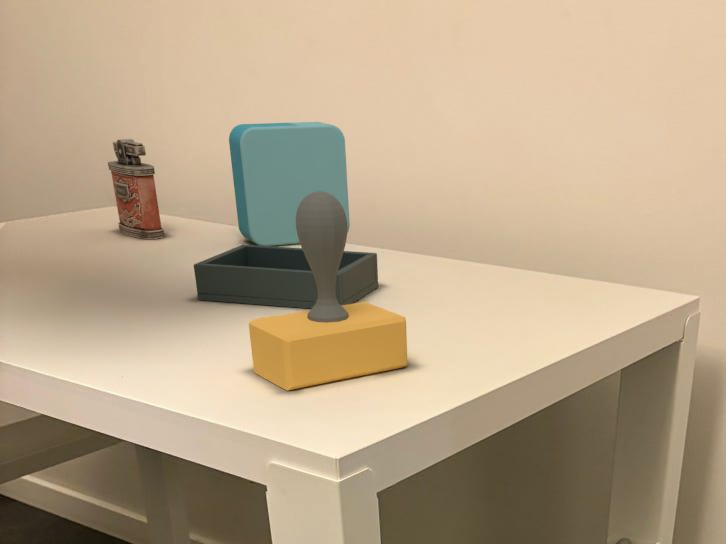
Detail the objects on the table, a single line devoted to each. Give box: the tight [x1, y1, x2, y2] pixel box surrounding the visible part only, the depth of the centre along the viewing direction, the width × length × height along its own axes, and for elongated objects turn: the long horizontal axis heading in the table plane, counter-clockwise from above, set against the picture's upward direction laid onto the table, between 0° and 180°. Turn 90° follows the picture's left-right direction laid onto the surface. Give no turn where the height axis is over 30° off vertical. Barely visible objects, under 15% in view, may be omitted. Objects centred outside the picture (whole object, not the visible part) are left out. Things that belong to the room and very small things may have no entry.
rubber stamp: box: [248, 191, 408, 392], centre depth 69 cm, size 10×6×12 cm, turn 127°
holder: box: [193, 244, 379, 310], centre depth 91 cm, size 10×14×3 cm
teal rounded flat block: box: [228, 121, 351, 247], centre depth 111 cm, size 12×4×12 cm, turn 119°
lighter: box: [107, 138, 166, 240], centre depth 114 cm, size 8×3×10 cm, turn 43°
